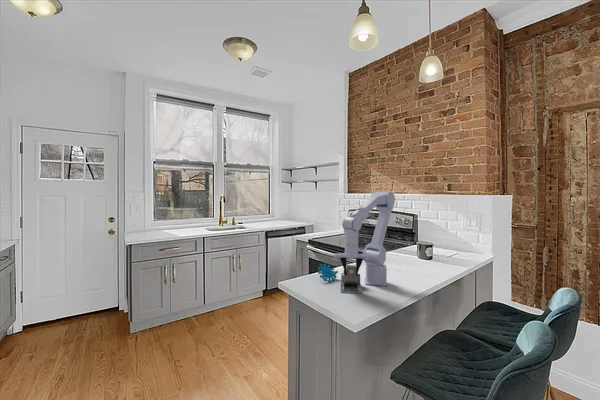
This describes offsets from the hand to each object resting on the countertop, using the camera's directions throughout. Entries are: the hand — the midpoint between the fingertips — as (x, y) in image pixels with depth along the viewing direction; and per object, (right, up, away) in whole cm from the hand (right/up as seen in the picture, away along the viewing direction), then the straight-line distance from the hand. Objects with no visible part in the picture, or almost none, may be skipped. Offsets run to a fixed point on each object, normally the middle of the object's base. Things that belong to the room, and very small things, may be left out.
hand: (351, 275), depth 126 cm
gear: (-9, -6, +14) cm, 18 cm away
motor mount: (0, -6, +2) cm, 7 cm away
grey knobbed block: (0, -2, 0) cm, 2 cm away
